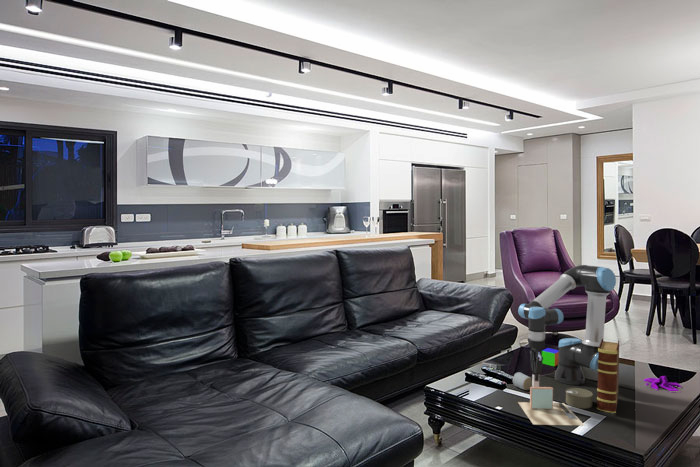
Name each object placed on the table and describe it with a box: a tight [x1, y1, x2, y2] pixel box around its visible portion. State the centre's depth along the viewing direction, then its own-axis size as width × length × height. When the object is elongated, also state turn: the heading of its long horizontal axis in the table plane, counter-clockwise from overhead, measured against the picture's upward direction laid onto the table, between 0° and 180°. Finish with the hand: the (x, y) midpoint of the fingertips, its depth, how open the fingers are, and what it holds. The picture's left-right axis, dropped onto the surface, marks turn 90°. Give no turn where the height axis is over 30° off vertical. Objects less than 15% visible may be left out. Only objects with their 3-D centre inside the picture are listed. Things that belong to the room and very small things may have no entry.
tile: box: [529, 386, 554, 409], centre depth 227 cm, size 10×2×10 cm, turn 86°
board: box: [517, 401, 585, 427], centre depth 222 cm, size 22×24×1 cm
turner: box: [558, 402, 578, 419], centre depth 224 cm, size 4×16×1 cm, turn 176°
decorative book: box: [596, 338, 620, 414], centre depth 232 cm, size 22×8×30 cm, turn 148°
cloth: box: [642, 375, 682, 392], centre depth 258 cm, size 22×19×6 cm
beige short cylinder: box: [564, 387, 594, 409], centre depth 233 cm, size 12×12×7 cm
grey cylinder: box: [512, 371, 533, 391], centre depth 256 cm, size 11×8×8 cm
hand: (535, 386), depth 235 cm, fingers closed
